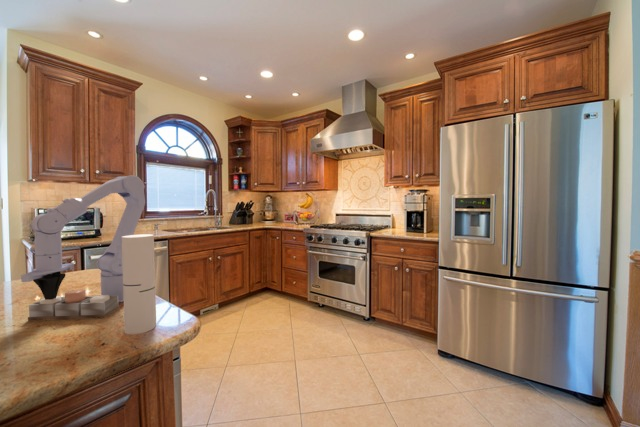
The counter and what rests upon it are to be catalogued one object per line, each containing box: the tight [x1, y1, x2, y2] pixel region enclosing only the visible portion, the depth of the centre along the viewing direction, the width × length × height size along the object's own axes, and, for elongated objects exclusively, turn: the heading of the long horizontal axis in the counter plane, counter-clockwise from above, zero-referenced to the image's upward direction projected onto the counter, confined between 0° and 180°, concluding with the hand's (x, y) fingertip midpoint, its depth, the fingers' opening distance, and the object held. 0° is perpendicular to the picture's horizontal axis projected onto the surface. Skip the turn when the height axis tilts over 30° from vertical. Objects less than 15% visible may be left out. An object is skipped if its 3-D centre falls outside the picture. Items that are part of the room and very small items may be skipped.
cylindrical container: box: [122, 233, 157, 335], centre depth 73 cm, size 7×7×25 cm
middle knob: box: [64, 289, 87, 303], centre depth 82 cm, size 5×5×4 cm
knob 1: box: [39, 295, 62, 304], centre depth 82 cm, size 5×5×4 cm
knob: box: [90, 295, 110, 303], centre depth 83 cm, size 5×5×4 cm
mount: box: [27, 295, 120, 322], centre depth 82 cm, size 21×7×4 cm, turn 94°
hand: (50, 299), depth 82 cm, fingers closed, pressing on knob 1
